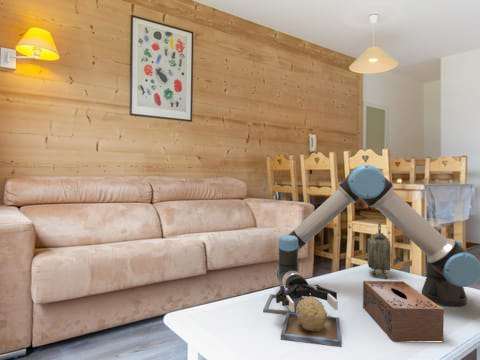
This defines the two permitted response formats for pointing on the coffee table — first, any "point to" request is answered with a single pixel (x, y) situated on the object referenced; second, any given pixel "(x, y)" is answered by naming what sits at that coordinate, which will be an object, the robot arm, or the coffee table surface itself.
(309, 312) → the coral
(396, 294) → the tissue box cover
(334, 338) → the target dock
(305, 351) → the coffee table surface
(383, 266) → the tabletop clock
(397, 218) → the robot arm
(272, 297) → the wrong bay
